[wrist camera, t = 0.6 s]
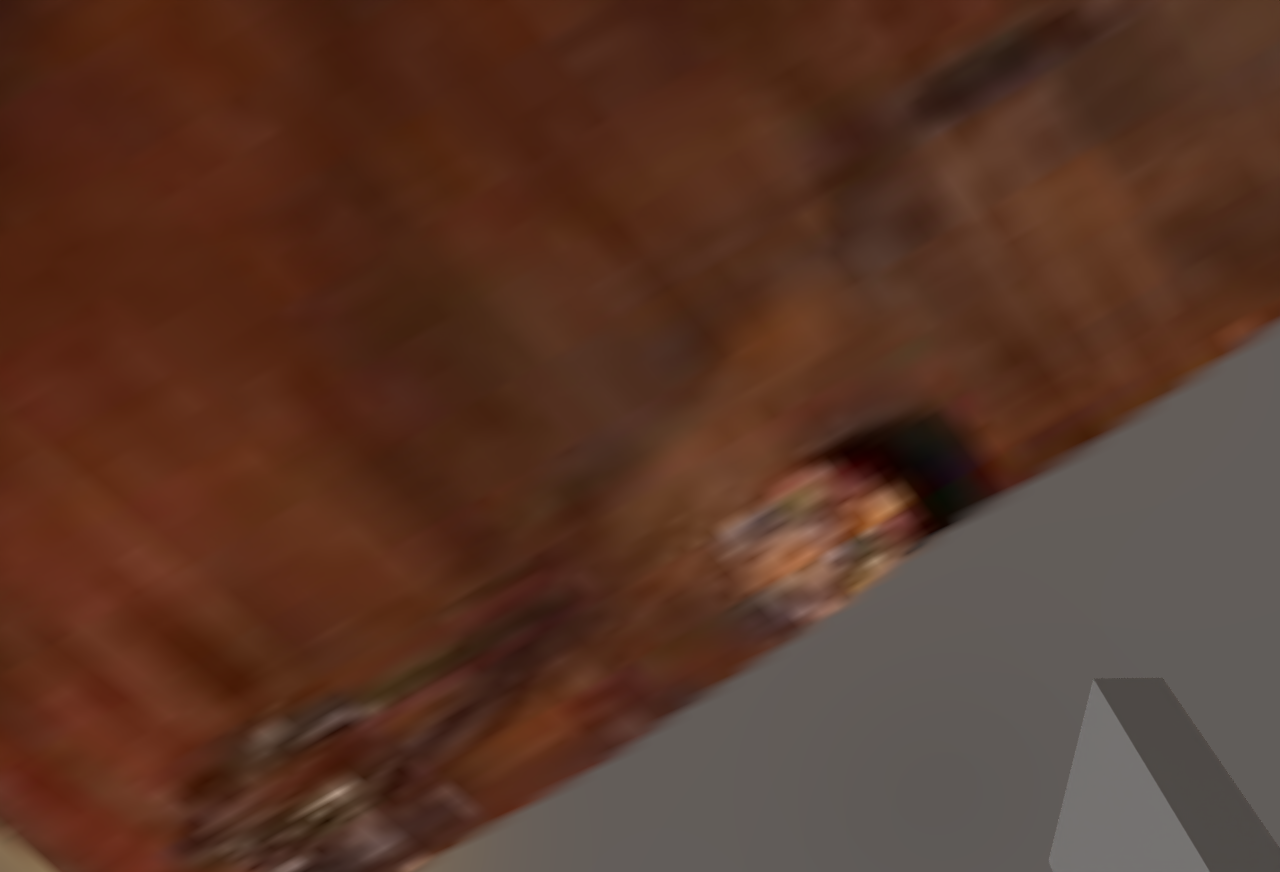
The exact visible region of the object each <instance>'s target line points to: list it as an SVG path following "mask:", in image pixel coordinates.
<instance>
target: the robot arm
mask: <svg viewBox="0 0 1280 872" xmlns="http://www.w3.org/2000/svg"><path fill="white" fill-rule="evenodd" d="M1049 864H1050V866H1051V869H1052V870H1053V872H1280V848H1279V846H1278V845H1277V844H1276V842H1275V841H1274V839H1273V838H1272V836H1271V835H1270V833H1269V832H1268V830H1267V829H1266V828H1265V826H1264V825H1263V823H1262V822H1261V820H1260V819H1259V817H1258V816H1257V815H1256V813H1255V812H1254V811H1253V809H1252V807H1251V806H1250V804H1249V803H1248V801H1247V800H1246V799H1245V797H1244V796H1243V794H1242V793H1241V791H1240V790H1239V788H1238V787H1237V785H1236V784H1235V783H1234V781H1233V780H1232V778H1231V777H1230V775H1229V774H1228V772H1227V771H1226V769H1225V768H1224V767H1223V765H1222V764H1221V762H1220V761H1219V759H1218V758H1217V756H1216V755H1215V753H1214V752H1213V751H1212V749H1211V748H1210V746H1209V745H1208V743H1207V742H1206V740H1205V739H1204V737H1203V736H1202V735H1201V733H1200V732H1199V730H1198V729H1197V727H1196V726H1195V724H1194V723H1193V722H1192V720H1191V719H1190V717H1189V716H1188V714H1187V713H1186V711H1185V710H1184V708H1183V707H1182V705H1181V704H1180V703H1179V701H1178V700H1177V698H1176V697H1175V695H1174V694H1173V693H1172V691H1171V690H1170V688H1169V687H1168V685H1167V684H1166V682H1165V681H1164V679H1163V678H1121V679H1120V678H1119V679H1118V678H1117V679H1115V678H1114V679H1093V683H1092V687H1091V691H1090V695H1089V699H1088V703H1087V707H1086V711H1085V715H1084V719H1083V723H1082V727H1081V731H1080V735H1079V739H1078V744H1077V748H1076V752H1075V756H1074V760H1073V764H1072V768H1071V772H1070V776H1069V781H1068V784H1067V788H1066V792H1065V797H1064V801H1063V805H1062V809H1061V813H1060V817H1059V821H1058V825H1057V829H1056V833H1055V837H1054V841H1053V845H1052V850H1051V854H1050V858H1049Z"/></svg>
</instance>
